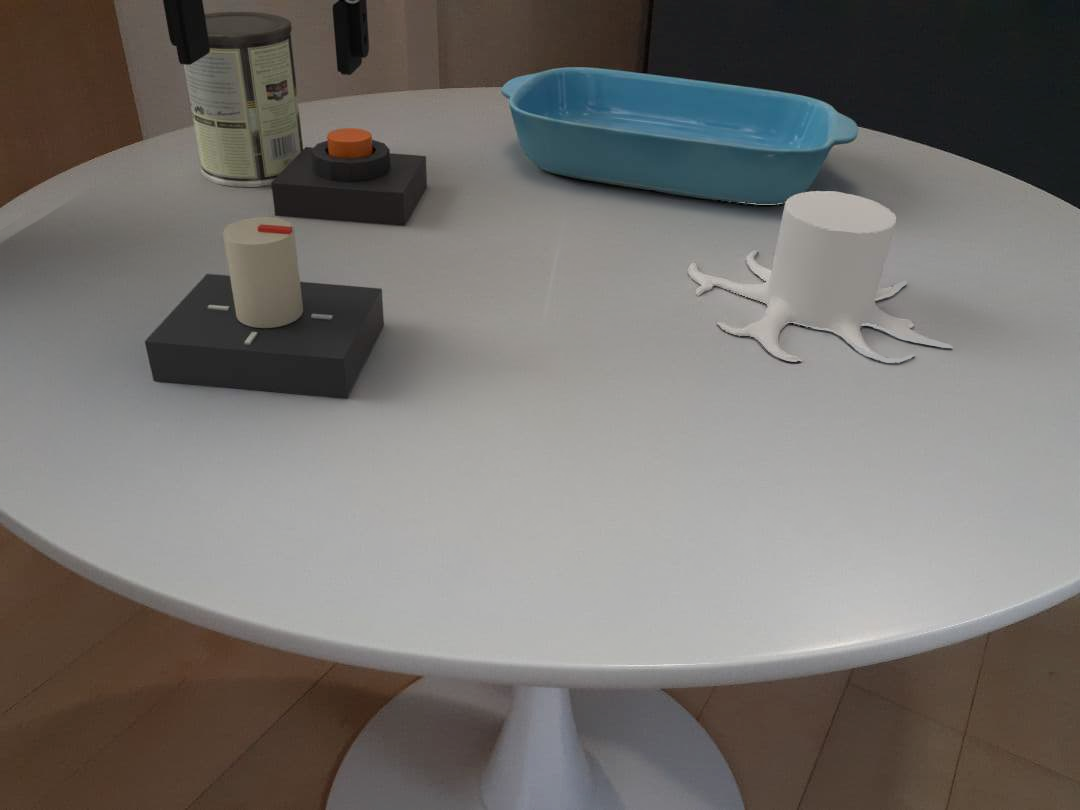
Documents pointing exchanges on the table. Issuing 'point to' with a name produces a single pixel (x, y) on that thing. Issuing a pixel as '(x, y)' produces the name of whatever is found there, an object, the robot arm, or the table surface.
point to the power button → (349, 143)
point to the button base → (351, 186)
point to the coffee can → (245, 99)
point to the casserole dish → (674, 133)
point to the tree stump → (820, 270)
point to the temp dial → (264, 271)
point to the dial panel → (268, 341)
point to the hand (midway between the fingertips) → (272, 64)
